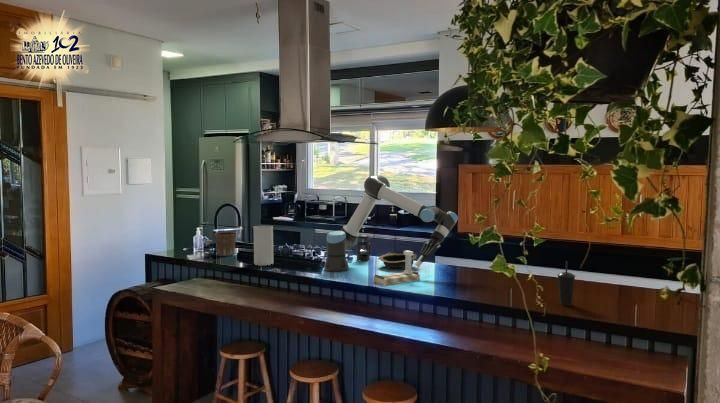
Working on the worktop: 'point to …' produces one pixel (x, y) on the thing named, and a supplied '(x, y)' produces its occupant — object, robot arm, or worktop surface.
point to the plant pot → (225, 243)
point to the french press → (363, 256)
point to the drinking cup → (566, 287)
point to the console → (396, 278)
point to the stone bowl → (395, 259)
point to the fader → (408, 262)
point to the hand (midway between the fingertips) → (416, 265)
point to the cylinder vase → (263, 245)
